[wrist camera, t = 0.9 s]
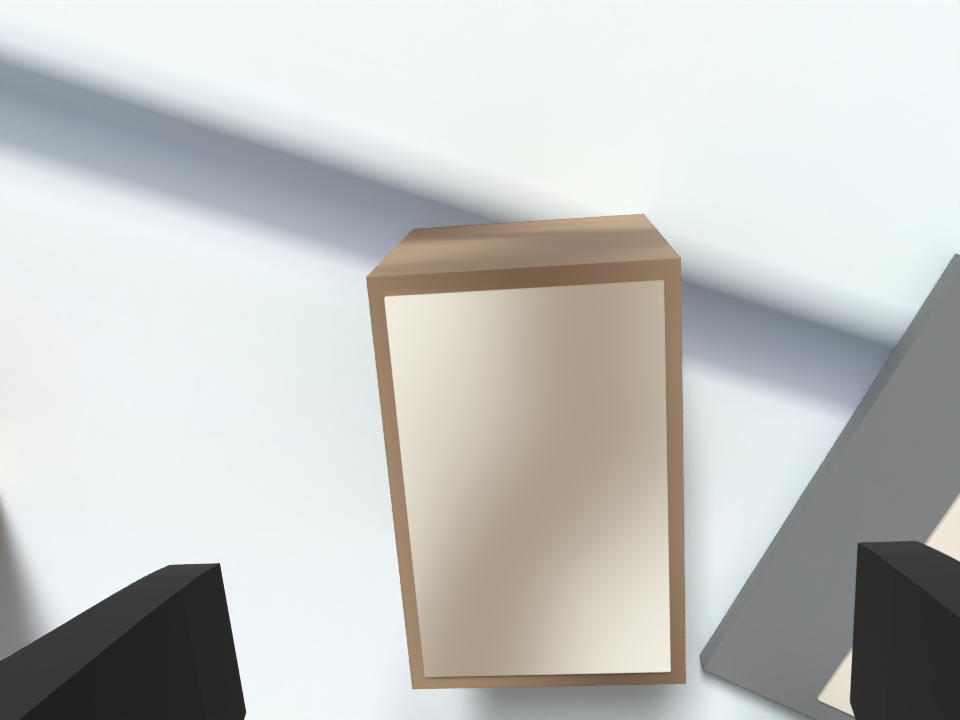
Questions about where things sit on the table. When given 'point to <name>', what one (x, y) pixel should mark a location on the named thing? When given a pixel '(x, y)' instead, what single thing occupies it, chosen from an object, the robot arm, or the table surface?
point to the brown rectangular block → (535, 451)
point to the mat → (854, 522)
